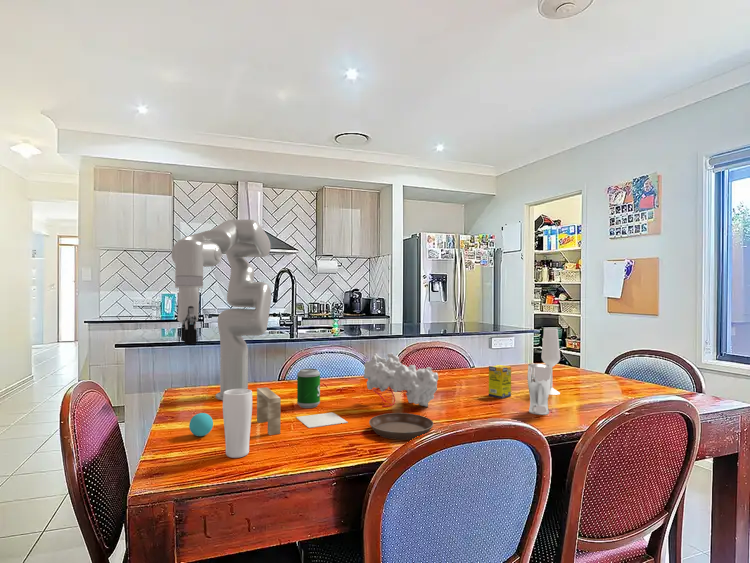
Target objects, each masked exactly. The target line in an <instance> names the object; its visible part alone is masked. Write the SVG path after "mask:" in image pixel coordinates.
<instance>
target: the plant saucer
mask: <svg viewBox="0 0 750 563" xmlns="http://www.w3.org/2000/svg"><path fill="white" fill-rule="evenodd" d="M368 423H369V425H370V427H371V428H372V430H373V432H375V433H376V434H377V435H378V436H379V435H380V437H381V438H385V439H389V440H390V439H391V440H401V441H402V440H403V441H404V440H413V439H412V438H415V437H417V436H420V435H422V434H425V433H427V432H428V433H429V432H430V431H431V430H432V428H433V427H434V422H433V420H431V419H430V418H428V417H426V416H423V415H419V414H414V413H407V412H393V413H383V414H379V415H375V416H373V417H371V418H370V419H369V421H368ZM428 433H427V434H428Z"/></svg>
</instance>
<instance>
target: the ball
mask: <svg viewBox="0 0 750 563" xmlns="http://www.w3.org/2000/svg"><path fill="white" fill-rule="evenodd" d="M188 428H189V430H190V432H191V434H192V435H193V436H196V437H203V436H206V435H208V434H210V432H211V431H212V430H213V428H214V421H213V418H212V416H211V415H210V414H208V413H206V412H200V413H196V414H194V415H193V416H192V417H191V419H190V421H189V424H188Z"/></svg>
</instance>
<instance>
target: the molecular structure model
mask: <svg viewBox="0 0 750 563" xmlns="http://www.w3.org/2000/svg"><path fill="white" fill-rule="evenodd" d="M386 357H387V358H388V359H387V358H386ZM386 357H381V356H379V354H378V353H376V352H375V353H373V355H372V357H371V360H370V361H369V360H366V361H365V363H364V364H363V366H364V371H363V376H362V377H363V378H364V379H365V380H367V381H366V386H367V389H368V390H373V392H375V394H377V395H378V396H379V397H380V398H381V399H382V401H381V405H382V407H381V408H387V407H391V406H394V405H395V402H396V397H395V394H394V393H405V395H406V399H407V400H408V403H409V404H412V403H413V404H415V405H419V406H422V407H426V408H427V407H428V406H429V402H431V400H434V398H435V396H434V394H435V393H436V392H437V391H438V387H437V386H438V380H439V374H438V372H435V371H433V370H432V367H431V366H430V367H429V366H427V367H426V368H424V367H423V368H416V365H415V364H410V365H409V366H407V365H406V362H405V363H402V362H400V357H399V356H397V355H394V353H393V352H388V353H387V354H386ZM380 392H385V393H387V394H388V393H389V394H390V393H391V394H392V397H389V396H386V395H384V397H385V398H388V399H391V400H393V402H392V403H390V402H389V401H387V400H386V399H385V398H384V397H383V396H382V393H380ZM383 402H384V403H385V402H386V403H388V404H389V405H385V404H384V403H383Z"/></svg>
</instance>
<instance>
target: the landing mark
mask: <svg viewBox="0 0 750 563" xmlns="http://www.w3.org/2000/svg"><path fill="white" fill-rule="evenodd" d="M295 418H296V419H297V420H298V421H299V422H301V423H302V424H303V425H305V426H306V427H307V428H308V429H314V428H320V427H327V426H333V425H334V426H336V425H340V424H341V423H342V424H348V423H349V421H347V420H345V418H342V417H341V416H340V415H338V414H336V413H335V412H326V413H317V414H316V413H315V414H310V415H301V416H296V417H295ZM342 424H341V425H342Z"/></svg>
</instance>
